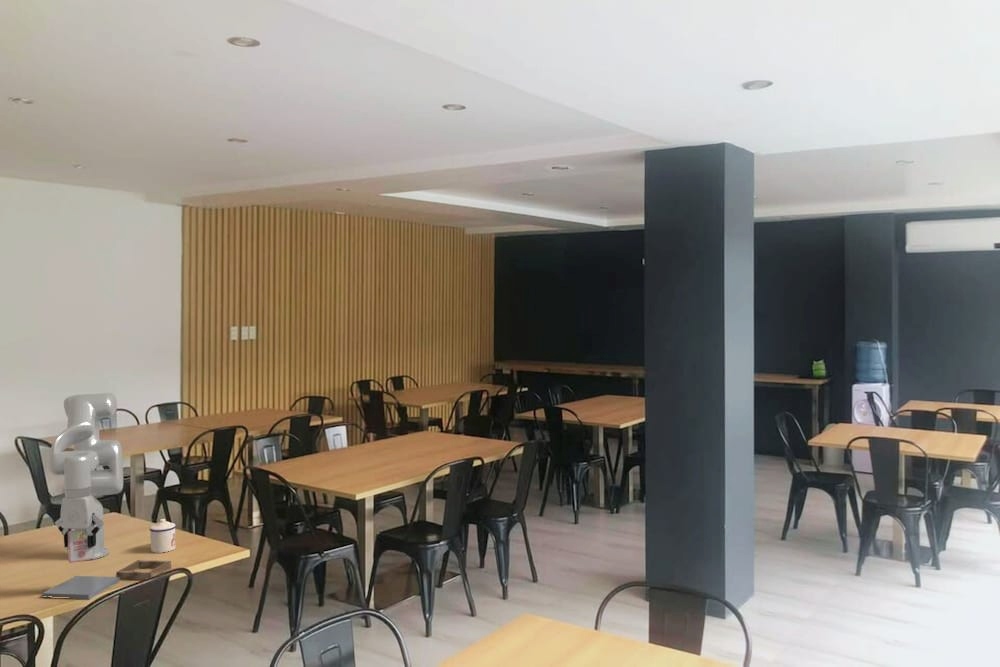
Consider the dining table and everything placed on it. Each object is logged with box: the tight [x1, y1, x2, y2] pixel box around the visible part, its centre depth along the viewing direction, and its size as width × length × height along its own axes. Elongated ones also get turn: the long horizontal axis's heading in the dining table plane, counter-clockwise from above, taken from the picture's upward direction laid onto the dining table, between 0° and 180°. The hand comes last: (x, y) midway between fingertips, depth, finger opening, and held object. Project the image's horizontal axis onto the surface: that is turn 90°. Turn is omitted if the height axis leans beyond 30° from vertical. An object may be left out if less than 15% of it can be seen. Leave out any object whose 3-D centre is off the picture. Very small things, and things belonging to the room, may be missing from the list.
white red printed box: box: [67, 529, 94, 564], centre depth 256 cm, size 4×7×10 cm, turn 124°
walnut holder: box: [115, 559, 172, 581], centre depth 271 cm, size 12×12×2 cm
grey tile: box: [41, 575, 121, 600], centre depth 257 cm, size 16×16×2 cm
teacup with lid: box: [149, 518, 177, 554], centre depth 299 cm, size 12×9×12 cm
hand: (80, 546), depth 256 cm, fingers closed on white red printed box, 7 cm apart
